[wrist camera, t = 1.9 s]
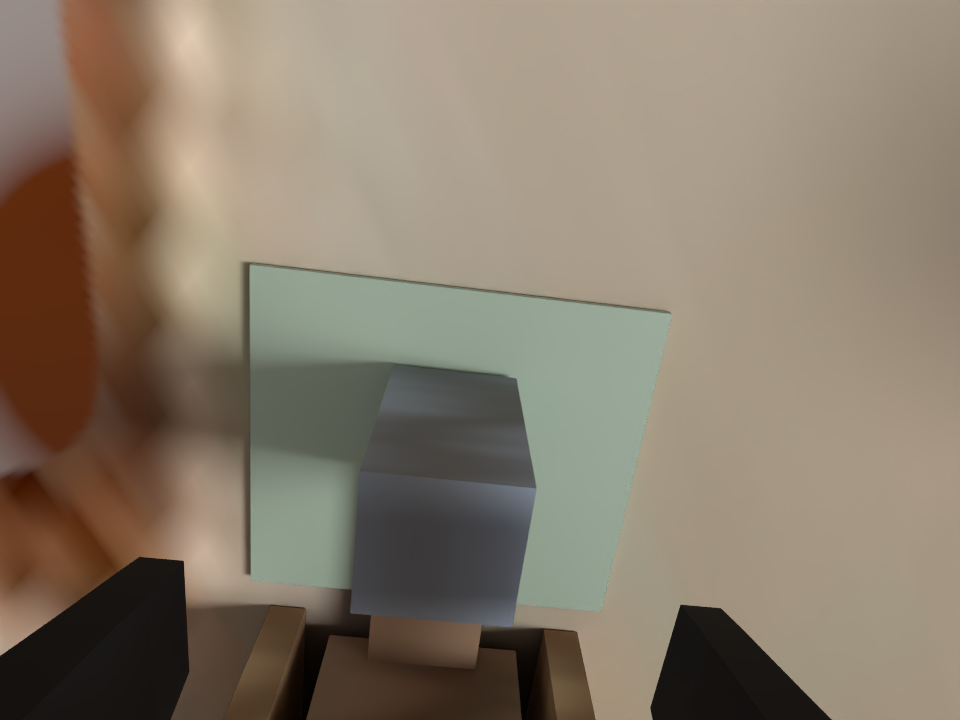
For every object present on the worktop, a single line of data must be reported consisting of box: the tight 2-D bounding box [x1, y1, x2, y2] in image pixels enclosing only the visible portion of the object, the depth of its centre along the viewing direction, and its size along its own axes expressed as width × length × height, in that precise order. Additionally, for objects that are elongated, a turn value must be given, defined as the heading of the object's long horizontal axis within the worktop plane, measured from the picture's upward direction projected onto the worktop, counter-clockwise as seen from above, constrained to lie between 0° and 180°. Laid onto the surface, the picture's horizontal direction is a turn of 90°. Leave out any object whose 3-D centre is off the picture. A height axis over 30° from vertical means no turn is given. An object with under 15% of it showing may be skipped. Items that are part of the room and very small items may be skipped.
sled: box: [306, 365, 537, 720], centre depth 16 cm, size 5×16×5 cm, turn 173°
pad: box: [250, 263, 672, 612], centre depth 16 cm, size 10×9×1 cm
